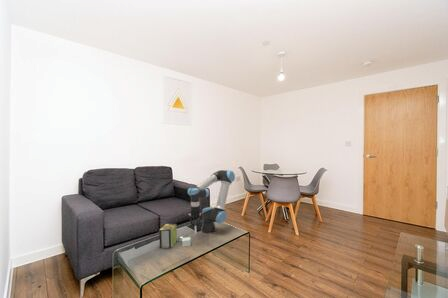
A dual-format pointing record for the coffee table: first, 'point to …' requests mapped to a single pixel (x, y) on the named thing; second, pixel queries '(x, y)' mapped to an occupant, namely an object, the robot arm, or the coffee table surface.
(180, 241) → the metal tin
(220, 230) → the coffee table surface
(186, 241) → the sage block
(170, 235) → the protein box
